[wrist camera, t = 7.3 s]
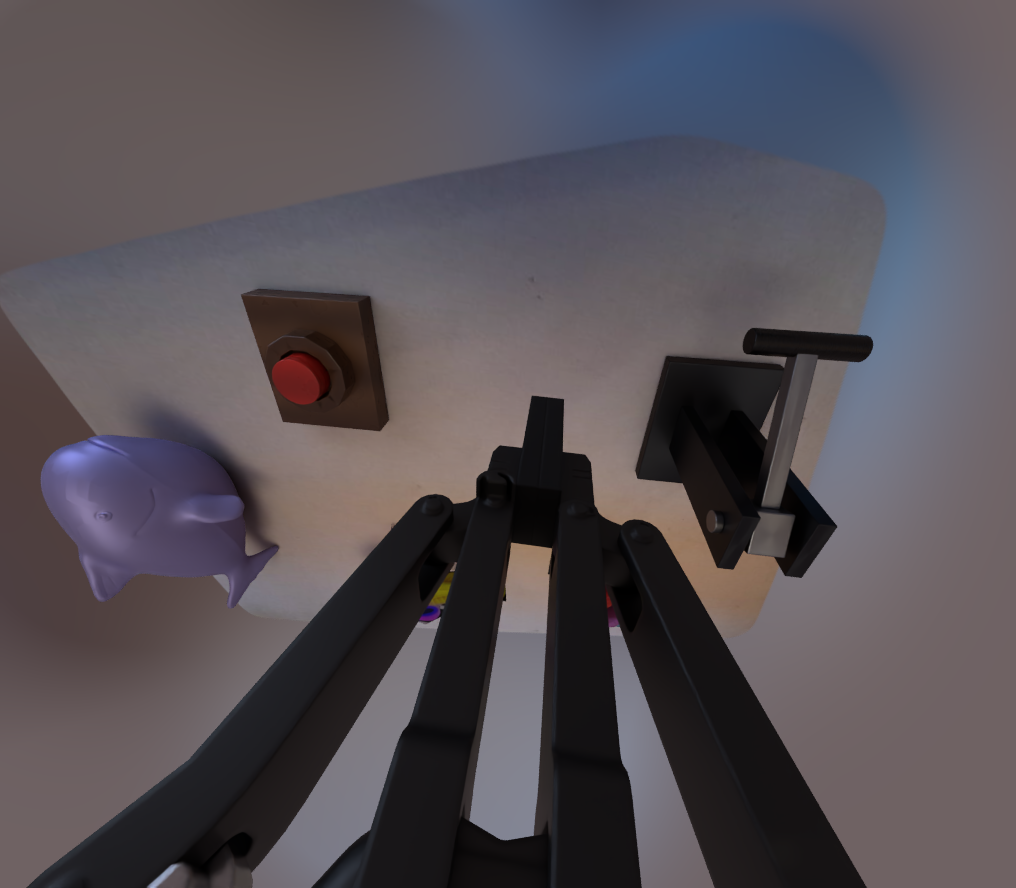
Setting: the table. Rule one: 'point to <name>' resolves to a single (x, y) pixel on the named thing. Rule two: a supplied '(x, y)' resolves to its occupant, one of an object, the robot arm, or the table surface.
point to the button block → (323, 353)
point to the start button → (301, 378)
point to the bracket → (725, 456)
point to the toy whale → (149, 513)
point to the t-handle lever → (790, 420)
